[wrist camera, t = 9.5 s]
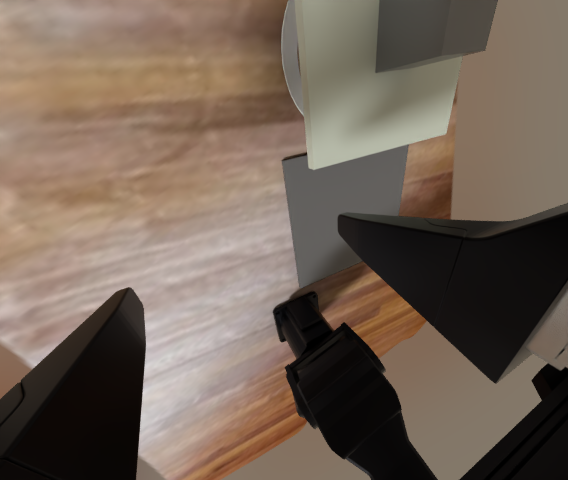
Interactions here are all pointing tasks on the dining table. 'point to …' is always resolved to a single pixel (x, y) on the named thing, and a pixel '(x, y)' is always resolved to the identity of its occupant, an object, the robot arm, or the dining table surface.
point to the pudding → (291, 55)
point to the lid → (382, 70)
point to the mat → (337, 206)
